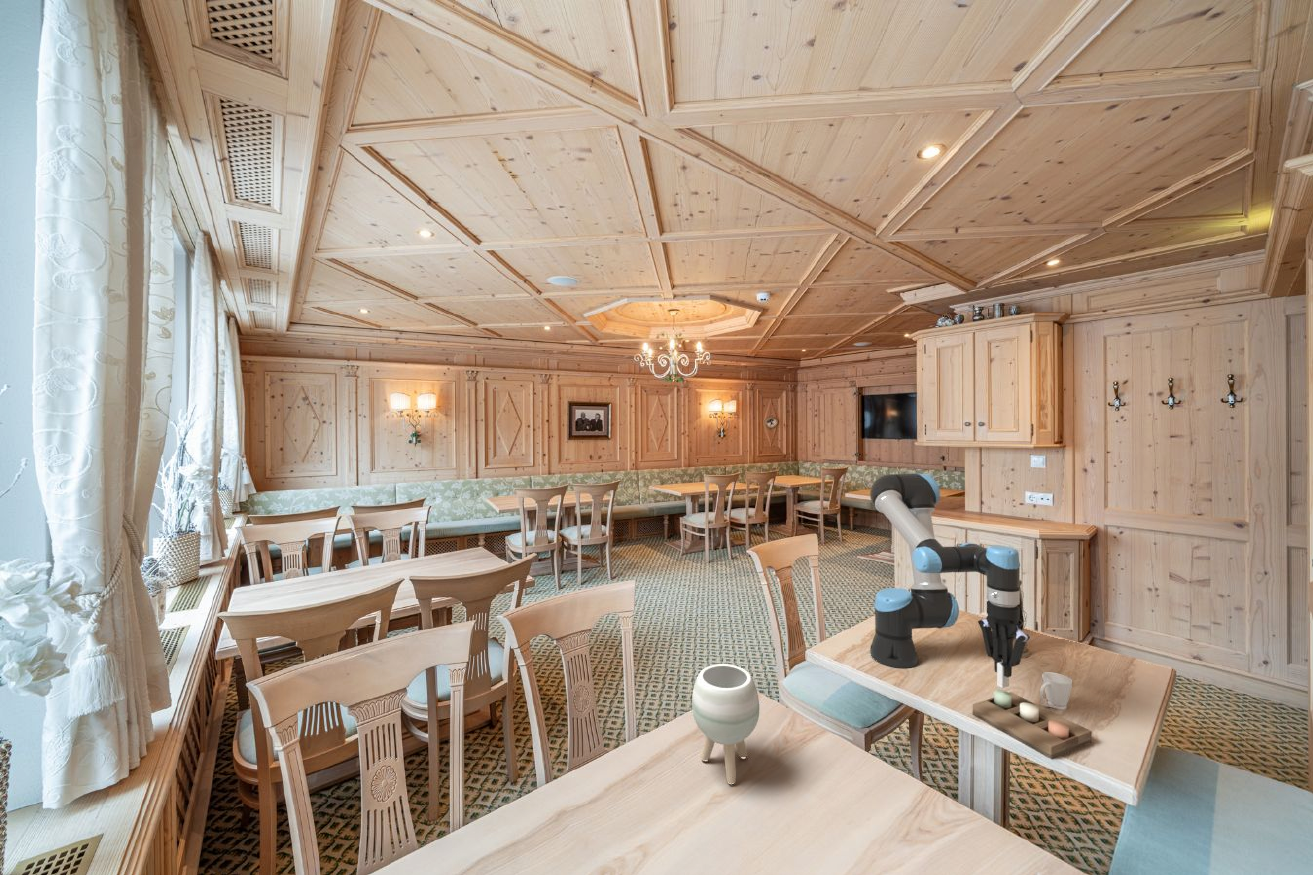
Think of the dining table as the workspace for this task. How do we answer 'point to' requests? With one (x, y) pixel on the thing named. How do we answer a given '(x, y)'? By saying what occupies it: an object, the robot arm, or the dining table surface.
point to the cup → (1056, 689)
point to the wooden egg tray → (1032, 727)
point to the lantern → (1022, 624)
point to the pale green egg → (1002, 698)
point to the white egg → (1029, 712)
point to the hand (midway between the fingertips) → (1003, 685)
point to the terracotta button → (1058, 729)
